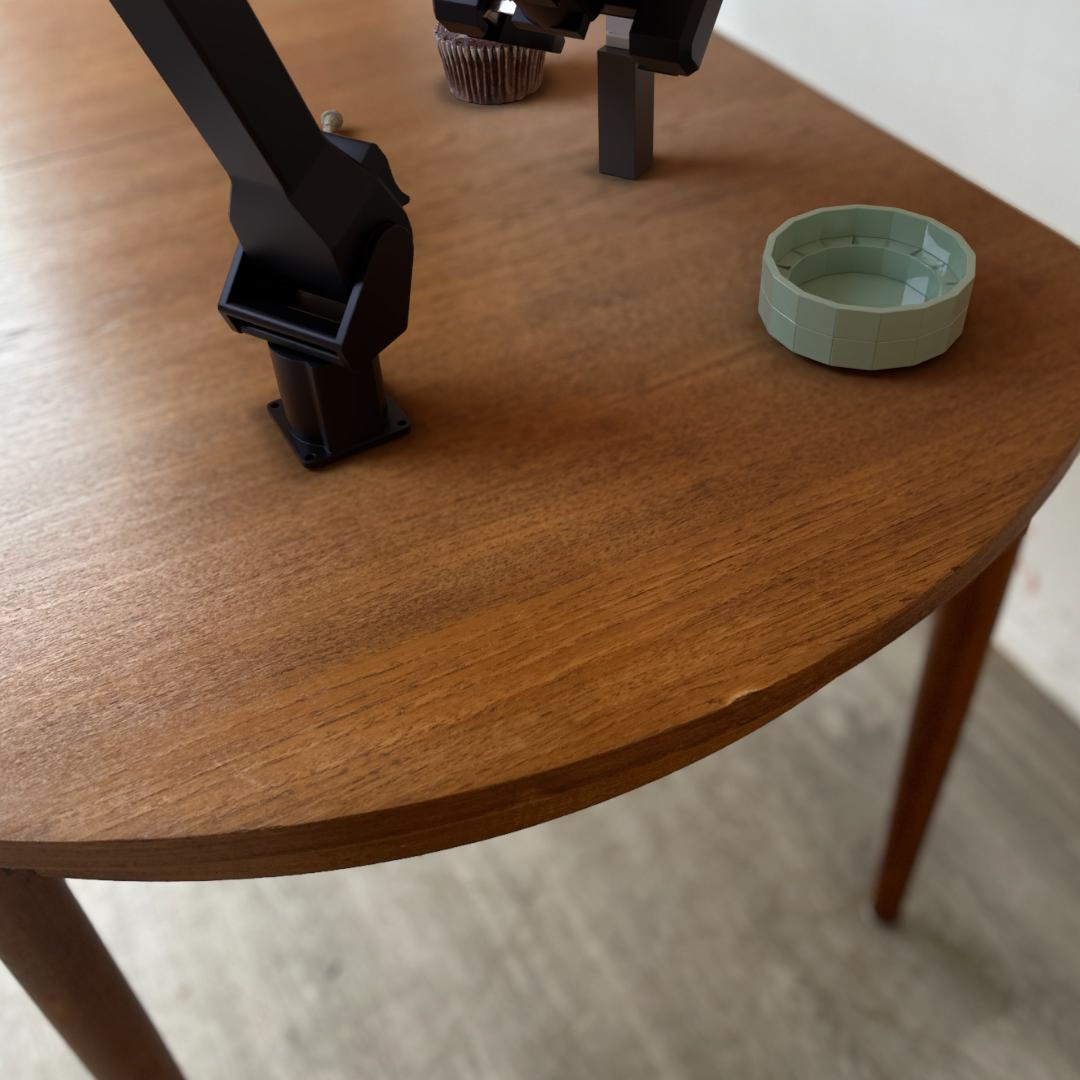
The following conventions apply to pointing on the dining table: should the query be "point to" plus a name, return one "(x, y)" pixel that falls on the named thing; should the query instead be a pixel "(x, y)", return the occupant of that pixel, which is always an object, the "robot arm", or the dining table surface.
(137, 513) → the dining table surface
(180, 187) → the dining table surface
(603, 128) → the scraper
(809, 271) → the bowl
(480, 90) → the cupcake
